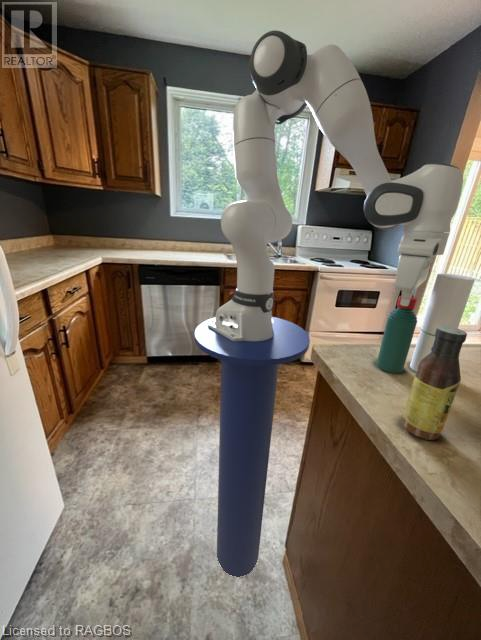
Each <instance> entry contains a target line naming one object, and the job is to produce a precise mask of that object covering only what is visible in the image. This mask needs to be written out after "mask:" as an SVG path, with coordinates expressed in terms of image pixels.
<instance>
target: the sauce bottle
mask: <svg viewBox="0 0 481 640" xmlns="http://www.w3.org/2000/svg"><path fill="white" fill-rule="evenodd" d="M467 337H468V332H466V331H464V330H463V329H459V328H458V329H456V328H452V327H446V326H440V327H437V330H436V333H435V341H434V344H433V347H432V348H431V351H432V352H431V353H430V354H428V355H427V356H425V357H424V358H423V359H422V360H421V361H420V363H419V365H418V369H417V372H415V374H414V378H413V381H412V384H411V387H410V391H409V394H408V398H407V401H406V405H405V408H404V411H403V418H402V425H403V427H404V428H405V430H406V431H408V432H409V433H410V434H412V435H413V436H415V437H417V438H420V439H422V440H427V441H434V440H436V439H438V438H439V437H440V436H441V433H442V432H443V430H444V428H445V426H446V422H447V420H448V416H449V414H450V411H451V409H452V406H453V403H454V400H455V397H456V395H457V393H458V392H457V391H458V389H459V386H460V383H461V380H462V377H461V368H460V366H461V365H460V354H461V350H462V348H463V344H464V343H465V342H466V340H467Z"/></svg>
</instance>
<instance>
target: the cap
mask: <svg viewBox="0 0 481 640" xmlns="http://www.w3.org/2000/svg"><path fill="white" fill-rule="evenodd" d="M401 296H402V295H399V296H398V299H397V303H396V306H397V307H400V308H404V309H413V310H414V309H416V305H417V301H418V298H416V297H415V296H414V297H411V301H410V304H409V305H408V306H402V305H400V302H401Z"/></svg>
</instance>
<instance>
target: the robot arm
mask: <svg viewBox="0 0 481 640" xmlns="http://www.w3.org/2000/svg"><path fill="white" fill-rule="evenodd" d="M249 72H250V73H249V74H250V77H251V81H252V84H253V85H254V88H255V90H254V92H253V93H252V94H248V95H244V96H243V97H241V98H240V99H239V100H238V101H237V103H236V105H235V107H234V111H233V121H232V145H233V146H232V147H233V158H234V173H235V180H236V182H237V184H238V186H239V187H240V189H242V191H243V193H244V195H245V197H246V200H239V201H236V202H232V203H229V204H228V205H226V207H225V208H224V209H223V211H222V213H221V217H220V228H221V232H222V234H223V235H224V237H225V238H226V240H228V241H229V244H231V247H232V249H233V252H234V256H235V260H236V288H235V289H232V290H229V292H230V293H229V295H232V297H231V299H230V300H229V301H227V302H226V303H224V304H222V305H221V306H220V307H218V308H217V309H216V312H215V316H214V318H215V319H214V320H212V321H211V322H209V324H208V327H209V328H211V329H213V330H215V331H216V332H218V333H220V334H221V335H223V336H225V337H227V338H228V339H230V340H232V341H264V340H268V339H270V338H272V337H273V336H274V331H273V326H272V323H273V319H272V317H273V315H272V313H273V312H272V311H273V307H274V296H275V294H274V293H275V292H274V282H275V281H274V280H275V268H276V267H275V264H274V263H273V261H272V260H271V258H270V255H269V250H268V244H274V243H277V242H279V241H281V240H284V239H285V238H287V237H288V236H289V234H290V233H291V232H292V228H293V217H292V214H291V213H290V211H289V210H288V209H287V207H286V204H285V201H284V199H283V195H282V190H281V187H280V183H279V179H278V171H277V169H278V168H277V155H276V153H277V152H276V137H275V135H276V134H275V126H276V125H281V124H284V123H285V122H287V121H288V120H291V119H294V118H296V117H297V116H299V115H301V113H302V112H304V111H305V109H306V107H307V106H308V107H309V109H310V111H311V113H312V116H313V117H314V120H315V122H316V124H317V126H318V127H319V130H320V132H322V134H323V136H324V137H325V138H326V140H327V141H328V142H329V144H331V146H332V147H333V148H334V149H335V150H336V151H337V152H338V153H339V154H341V156H343V158H344V159H345V160H346V161H347V162H348V163H349V165H350V166H351V167H352V169H353V171H354V173H355V175H356V177H357V179H358V181H359V184H360V185H361V187H362V189H363V191H364V193H365V196H366V198H365V200H364V203H363V213H364V214H363V215H364V217H365V218H366V220H367V221H368V222H369V223H370V224H371V225H372V226H374V227H375V228H376V229H379V230H383V231H385V230H387V231H388V230H393V229H395V228H397V227H399V226H401V225H402V226H403V231H402V235H401V238H400V243H399V245H398V248H397V254H398V255H399V257H398V262H397V267H396V273H395V281H394V287H395V288H394V289H395V290H397V291H401V295H400V296H401V302H400V305H402V306H408V305H409V304H410V301H411V297H415V295H416V294H417V291H418V289H419V287H420V286H421V285H422V284H423V283H424V282H425V281H426V280H427V278H428V275H429V270H430V267H431V263H434V262H436V261H435V260H436V257H437V256H442V255H443V256H444V253H445V250H446V248H447V244H448V241H449V237H450V234H451V222H452V219H453V217H454V215H455V214H456V212H457V210H458V207H459V202H460V199H461V196H462V190H463V186H464V174H463V171H462V170H461V168H459V167H458V166H455V165H454V164H448V163H441V162H436V163H434V162H433V163H427V164H424V165H422V166H421V167H420V168H419V169H416V170H415V171H413V172H412V173H410V174H408V175H404V176H403V177H400V178H397V179H394V180H392V178H391V177H390V174H389V172H388V170H387V168H386V166H385V163H384V161H383V158H382V157H381V155H380V152H379V150H378V146H377V145H378V144H377V141H376V135H375V126H374V118H373V111H372V106H371V102H370V98H369V95H368V92H367V89H366V87H365V85H364V82H363V81H362V78H361V76H360V74H359V72H358V70H357V69H356V67H355V66H354V64H353V62H352V61H351V60H350V58H349V57H348V56H347V55H346V53H345V52H344V51H343V50H342V48H341V47H340V46H338V45H336V44H327V45H324V46H321V47H320V48H319V49H317V50H316V51H315V52H314V53H312V54H308V50H307V45H306V44H305V43H303V42H302V41H300V40H297V39H294V38H293V37H291V36H290V35H289V34H287V33H285V32H283V31H281V30H270V31H268V32H265V33H264V34H262V35H261V36H260V37H259V39H258V40H257V41H256V42H255V44H254V45H253V48H252V49H251V53H250V57H249Z"/></svg>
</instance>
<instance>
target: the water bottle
mask: <svg viewBox="0 0 481 640" xmlns="http://www.w3.org/2000/svg"><path fill="white" fill-rule="evenodd" d="M413 310H414V309H404V308H400V307H398V306H397V307H396V308H395V309H394V310H392V311H391V312H389V314H388V315H387V319H386V323H385V326H384V327H385V328H384V331H383V335H382V339H381V344H380V346H379V351H378V355H377V360H376V362H375V363H376V366H377V368H379V369H380V370H382V371H384V372H387V373H390V374H391V373H392V374H401V373H403V372H404V369H405V365H406V361H407V358H408V356H409V352H410V348H411V344H412V341H413V338H414V334H415V331H416V327H417V323H418V318H417V316H416V314H415V311H413Z"/></svg>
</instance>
